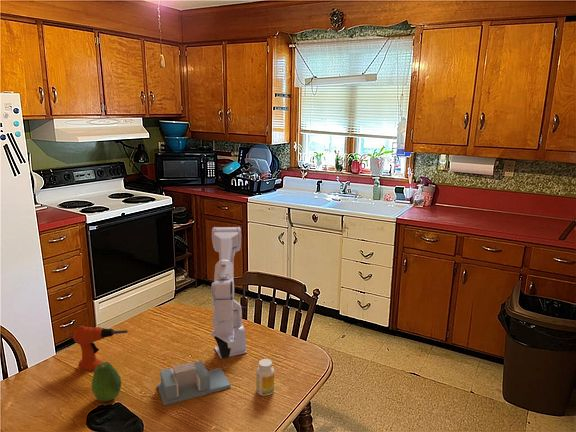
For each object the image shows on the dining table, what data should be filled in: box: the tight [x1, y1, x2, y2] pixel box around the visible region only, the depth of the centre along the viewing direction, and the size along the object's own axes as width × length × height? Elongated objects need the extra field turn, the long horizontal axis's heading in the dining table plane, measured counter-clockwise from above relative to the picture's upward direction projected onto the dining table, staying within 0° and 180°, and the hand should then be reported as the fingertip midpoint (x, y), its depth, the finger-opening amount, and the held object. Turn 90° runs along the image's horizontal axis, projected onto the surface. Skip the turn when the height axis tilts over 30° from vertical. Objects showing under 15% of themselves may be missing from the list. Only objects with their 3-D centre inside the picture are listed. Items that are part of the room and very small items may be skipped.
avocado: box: [91, 361, 122, 402], centre depth 126 cm, size 8×8×12 cm
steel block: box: [172, 361, 197, 392], centre depth 131 cm, size 6×4×6 cm, turn 116°
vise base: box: [157, 367, 232, 407], centre depth 132 cm, size 20×10×6 cm, turn 116°
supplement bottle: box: [255, 358, 275, 396], centre depth 131 cm, size 5×5×10 cm
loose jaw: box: [193, 360, 210, 391], centre depth 133 cm, size 3×9×4 cm, turn 26°
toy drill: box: [72, 325, 128, 372], centre depth 141 cm, size 5×19×15 cm, turn 85°
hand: (225, 357), depth 136 cm, fingers closed
